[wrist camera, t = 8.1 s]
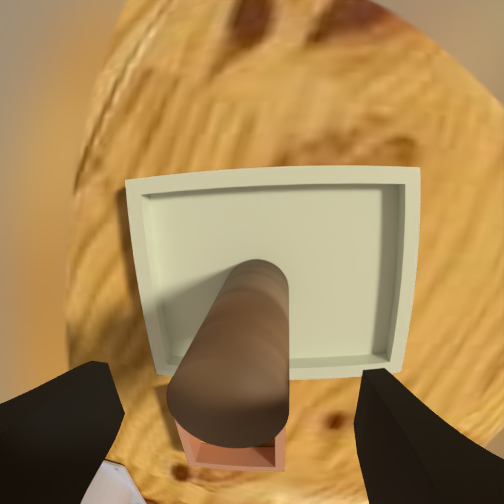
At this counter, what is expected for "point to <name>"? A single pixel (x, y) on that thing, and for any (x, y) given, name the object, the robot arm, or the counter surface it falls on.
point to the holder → (234, 454)
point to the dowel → (238, 362)
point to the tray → (283, 257)
